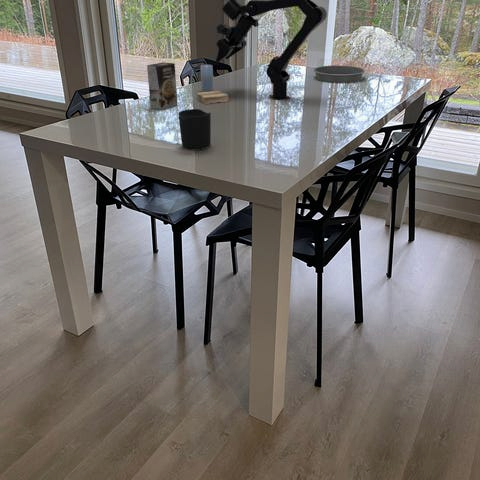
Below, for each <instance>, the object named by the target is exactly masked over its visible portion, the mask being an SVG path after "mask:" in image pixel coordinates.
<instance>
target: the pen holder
mask: <svg viewBox="0 0 480 480" xmlns="http://www.w3.org/2000/svg"><path fill="white" fill-rule="evenodd" d="M178 121H179V132H180V141H181V145H182V147H183V148H184V149H186V150H190V149H200V150H203V149H202V148H205V149H207V148H206V147H208V146H209V147H210V146H211V135H212V134H211V131H212V130H211V128H212V127H211V125H212V123H211V121H212V120H211V112H205V111H204V110H202V109H199V108H191V109H190V108H189V109H184V110H181V111H179V112H178ZM209 147H208V148H209Z"/></svg>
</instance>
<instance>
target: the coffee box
mask: <svg viewBox="0 0 480 480" xmlns="http://www.w3.org/2000/svg"><path fill="white" fill-rule="evenodd" d="M146 68H147V69H146V71H147V82H148V93H149V104H150V106H149V107H150V108H151V109H154V110H159V111H164V110H167V109H171V108H175V107H177V106H178V93H177V80H176V79H177V78H176V64H175V63H173V62H164V61H163V62H158V63H152V64H147V65H146Z"/></svg>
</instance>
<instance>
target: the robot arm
mask: <svg viewBox="0 0 480 480" xmlns="http://www.w3.org/2000/svg"><path fill="white" fill-rule="evenodd" d="M293 7H297V8H298V9H300V11H301V12H302V13H303V14H304V15H305V18H304V20H303V23H302V26H301V27H300V29H299V31H297V33H296V35H295V36H294V37H293V39H291V41H290V42H289V43H288V45H287V46H286V48H285V49H284V51H283V52H282V53H281V55H280V56H279V55H276V56H275V57H272V59H271V60H270V63H269V64H267V65H266V66H267V68H266V75H267V77H268V78H269V80H270V81H269V82H270V84H271V85H272V94H270V95H269V97H270V98H273V99H274V100H283V99H285V100H286V99H290V98H291V97H290V96H289V95H287V94H288V93H287V91H288V82H289V80H290V77H291V75H290V73H288V71H286V70H287V68H288V65H289V63H290V61H291V59H292V58H293V57H294V56H295V55H296V53H297V52H298V51H299V49H300V48H301V46H302V45H303V43H304V42H305V41H306V40H307V39H308V37H309V36H310V34H311V33H312V32H313V31H314V30H316V29H317V28H318V27H319V26H320V25H322V24H323V22H324V21H325V20H326V18H327V10H326V9H325V7H323V6H319V5H318V4H316V3H315V2H314V1H313V0H248V2H247V3H246V4H245V5H242V4H241V3H239V1H238V0H228V1H227V2H226V3H225V4H224V6H223V7H222V10H221V11H222V13H223V14H225V15H226V17H228V18H229V19H230V20H231V21H232V22H234V21H237V22H236V24H235V25H234V26H230V25H227V24H225V23H219V24H218V25H217V26H216V33H217V34H220V35H222V36H224V38H219V39H218V40H217V42H215V43H216V46H217V47H218V51H217V55H216V60H215V62H216V63H220V62H221V61H222V60H224V59H226V60H228V59H229V58H232V57H233V56H234V55H236V54H237V53H239V52H240V51H242V50H243V49H245V47H246V46H247V41H246V40H245V38H247V37H248V36H249V35H248V33H249V32H250V30H251V28H252V27H254V28H256V27H259V26H260V24H259V19H258V18H255V17H257V16H261V15H263V14H266V13H268V12H271V11H275V10H282V9H287V8H293Z"/></svg>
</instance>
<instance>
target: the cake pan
mask: <svg viewBox="0 0 480 480" xmlns="http://www.w3.org/2000/svg"><path fill="white" fill-rule="evenodd" d="M313 72H315V78H316V80H317V79H318V81H321V82H324V83H332V84H333V83H335V84H349V83H357V82H360V81H361V79H362V75H363V74H364V73H365V72H366V70H365V69H364V68H362V67H358V66H351V65H338V64H336V65H321V66H317V67H314V68H313Z"/></svg>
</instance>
